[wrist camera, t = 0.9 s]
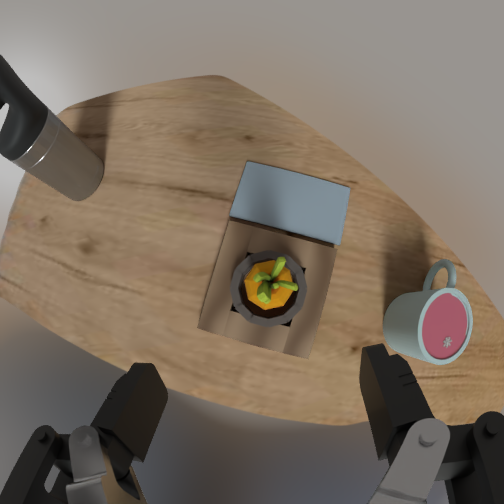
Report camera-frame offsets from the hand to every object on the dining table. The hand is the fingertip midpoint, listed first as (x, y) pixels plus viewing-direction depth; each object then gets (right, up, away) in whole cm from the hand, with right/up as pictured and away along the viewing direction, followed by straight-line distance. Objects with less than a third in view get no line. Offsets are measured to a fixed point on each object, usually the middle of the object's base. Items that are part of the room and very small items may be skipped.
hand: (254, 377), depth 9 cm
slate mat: (+6, +12, +29) cm, 32 cm away
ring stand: (+2, 0, +27) cm, 27 cm away
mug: (+24, -4, +25) cm, 35 cm away
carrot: (+2, 0, +27) cm, 27 cm away
